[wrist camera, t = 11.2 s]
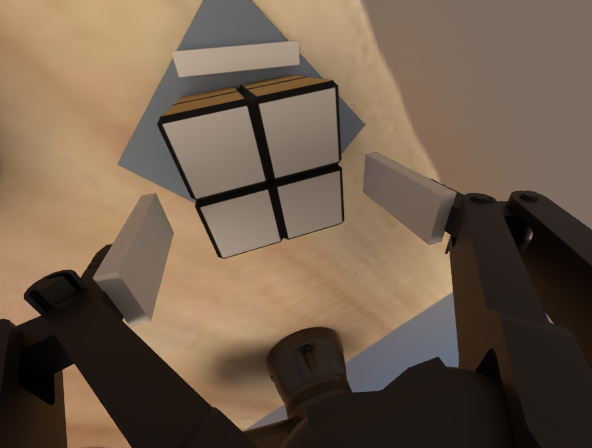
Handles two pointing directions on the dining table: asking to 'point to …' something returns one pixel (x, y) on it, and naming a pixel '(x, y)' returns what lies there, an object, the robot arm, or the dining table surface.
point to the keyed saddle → (218, 79)
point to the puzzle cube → (260, 159)
